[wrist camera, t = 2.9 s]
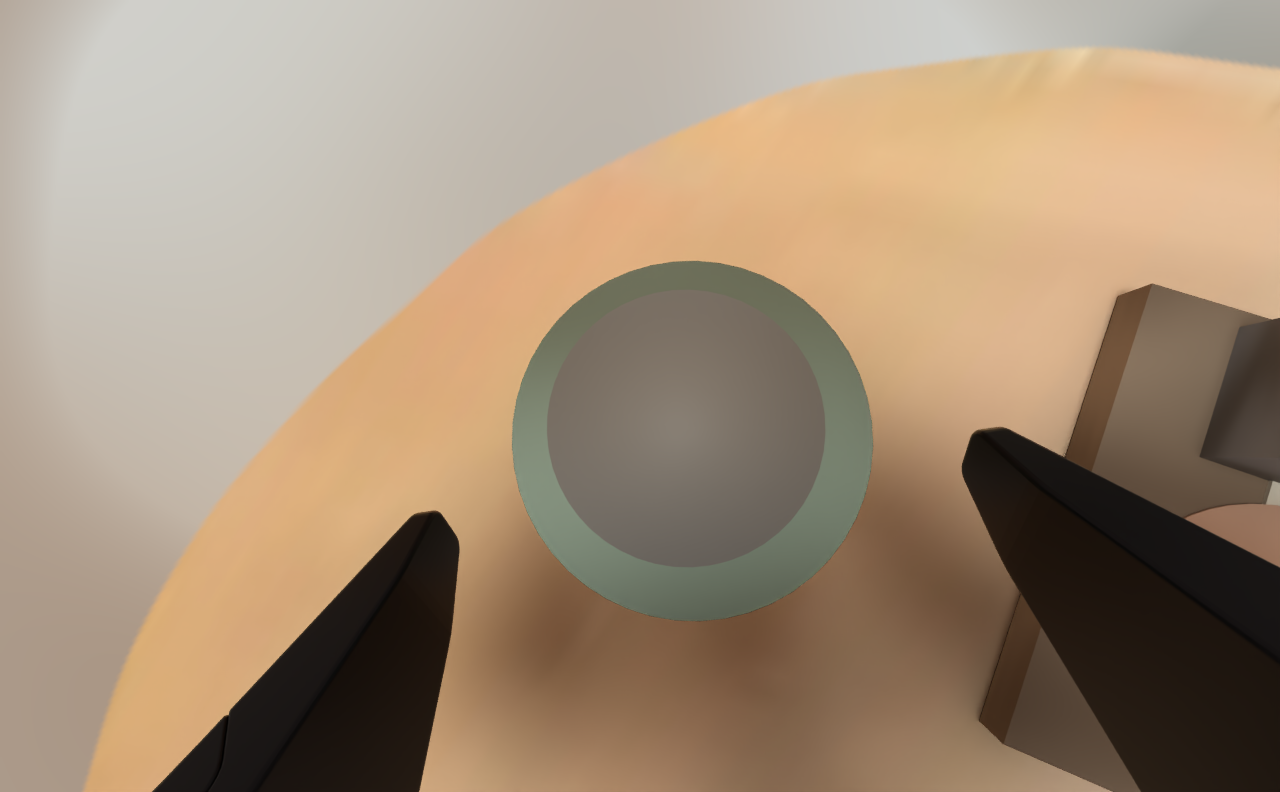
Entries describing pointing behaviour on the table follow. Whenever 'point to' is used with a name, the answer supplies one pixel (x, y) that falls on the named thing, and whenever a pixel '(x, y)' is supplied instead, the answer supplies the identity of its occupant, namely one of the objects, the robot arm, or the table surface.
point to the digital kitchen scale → (1155, 486)
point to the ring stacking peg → (692, 441)
